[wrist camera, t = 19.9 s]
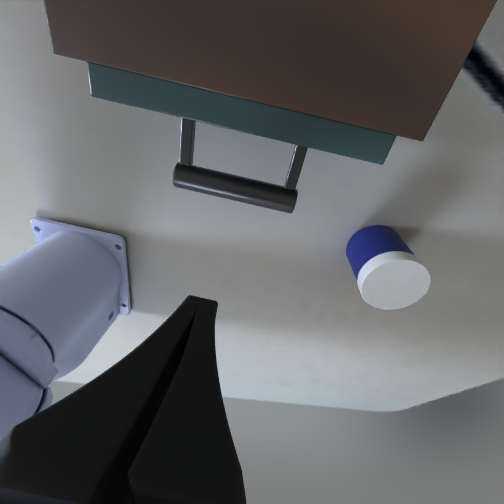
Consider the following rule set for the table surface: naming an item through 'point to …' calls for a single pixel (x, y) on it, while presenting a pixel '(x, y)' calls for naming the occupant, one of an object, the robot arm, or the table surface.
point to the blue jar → (386, 269)
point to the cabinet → (287, 51)
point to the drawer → (240, 119)
